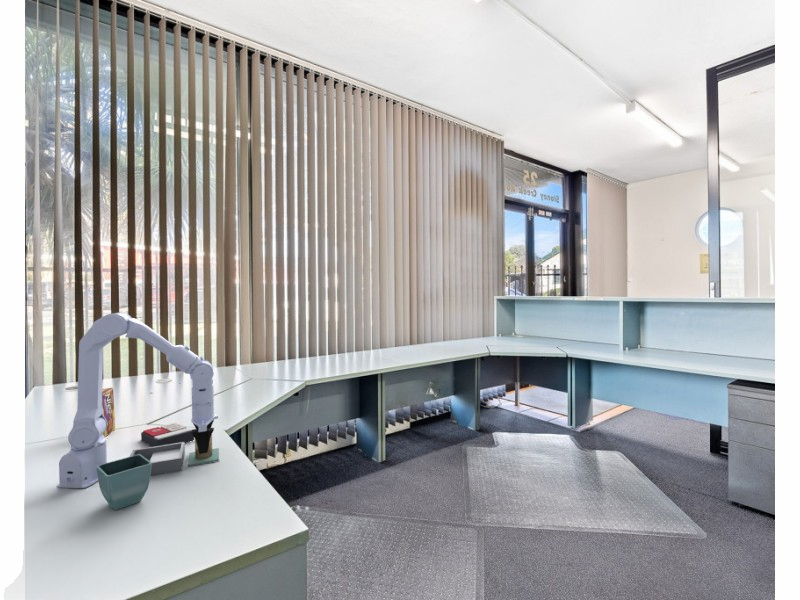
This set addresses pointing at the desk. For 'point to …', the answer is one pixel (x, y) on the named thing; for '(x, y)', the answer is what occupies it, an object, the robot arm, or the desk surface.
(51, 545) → the desk surface
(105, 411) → the candy box
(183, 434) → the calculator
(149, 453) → the organiser box
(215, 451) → the mat
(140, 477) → the flower pot
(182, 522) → the desk surface
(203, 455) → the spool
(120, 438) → the desk surface
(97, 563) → the desk surface
